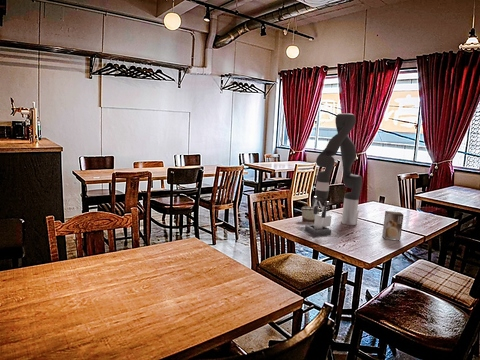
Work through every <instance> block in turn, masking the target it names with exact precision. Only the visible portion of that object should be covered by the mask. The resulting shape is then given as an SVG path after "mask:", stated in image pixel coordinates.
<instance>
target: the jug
mask: <svg viewBox="0 0 480 360" xmlns="http://www.w3.org/2000/svg"><path fill="white" fill-rule="evenodd" d="M331 224H332V215H330V214H326V217H325V218H322V213H321V214H320V213H319V214H315V221H314V222H313V225H314V229H316V230H321V229H323V227H327V228H329V227H331Z"/></svg>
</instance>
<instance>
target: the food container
mask: <svg viewBox="0 0 480 360" xmlns="http://www.w3.org/2000/svg"><path fill="white" fill-rule="evenodd" d="M300 209H301V210H300V211H301V217H302V218H301V222H302V223H305V222H310V223H314V221H315V214H313V211H314V207H313V206H310V205H309V206H308V205H307V206H302V207H301V208H300ZM320 209H321V208H319V207H318V210H317V214H320V213H321V210H320Z"/></svg>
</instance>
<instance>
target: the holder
mask: <svg viewBox="0 0 480 360" xmlns="http://www.w3.org/2000/svg"><path fill="white" fill-rule="evenodd" d="M295 229H297V230H299V231H301V232H302V233H304V234H305V235H307V236H309V237H311V238H312V239H317V238H318V239H319V238H328V237H329V238H331V237H342V235H341V234H339V233H337V232H336V231H335V230H334V231H333V230H332V229H331V228H329V227H323V229H321V230H316V229H314V224H306V225H304V226H296V227H295Z"/></svg>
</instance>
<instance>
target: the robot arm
mask: <svg viewBox="0 0 480 360" xmlns="http://www.w3.org/2000/svg"><path fill="white" fill-rule="evenodd" d="M356 121H357V118H356V115H355V114H353V113H337V114H336V116H335V128H336V132H337V133H336V134H335V135H334V136H333V137H331V138H330V140H329V141H328V143H327V144H326V147H325V148H324V149H323V150H322V151H321V152H320V153H319V155H318V156H317V157H316V160H315V164H316V166H318V167H320V168H325V169H324V170H323V171H321V170H320V171H318V173H317V178H316V185H315V190H314V191H315V193H314V196H313V197H312V201H311V207H314V211H313V214H317V210H318V208H319V207H320V209H321V215H322V218H325V217H326V215H327V212H330V211H329V210H330V203H331V202H330V200H329V201H327V199H328V198H329V191H330V180H331V179H330V178H331V174H332V171H333V169H334V167H335V164H336V162H335V161H336V159H335V158H334V156H336V155H337V154H338V151H339V149H340V156H341V163H342V178H343V180H342V181H343V186H344V187H346V188H349V189H352V190H351V192H346V193H344V198H343V206H342V214H341V215H342V216H341V223H342V224H343V225H347V226H355V225H358V218H359V210H358V208H359V200H360V196H361V192H362V186H363V178H362V176H361V175H358V174H354V173H353V172H352V166H353V164H354V162H355V160H356V158H357V150H356V146H355V145H356V144H354V142H353V141H352V140H351V138H350V136H349V134H350V133H351V132H352V130H353V129H354V127H355V125H356Z"/></svg>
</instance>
